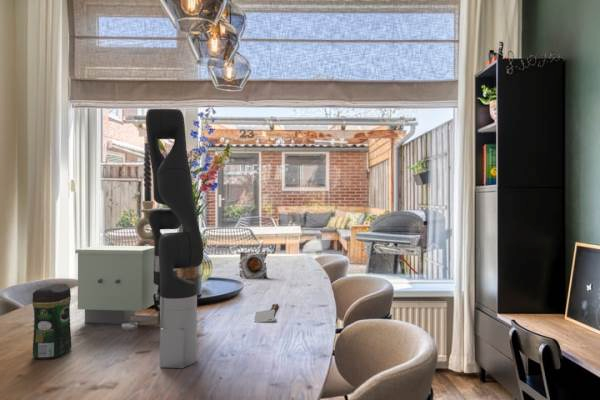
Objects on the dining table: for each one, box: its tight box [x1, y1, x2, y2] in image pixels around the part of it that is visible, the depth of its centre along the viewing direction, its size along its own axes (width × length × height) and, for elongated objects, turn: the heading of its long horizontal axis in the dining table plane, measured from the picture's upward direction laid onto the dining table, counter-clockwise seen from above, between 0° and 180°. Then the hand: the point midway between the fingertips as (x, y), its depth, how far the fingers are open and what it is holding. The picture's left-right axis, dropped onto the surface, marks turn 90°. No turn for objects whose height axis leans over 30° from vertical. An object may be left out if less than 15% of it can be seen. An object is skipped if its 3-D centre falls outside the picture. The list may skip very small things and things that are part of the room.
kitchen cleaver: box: [253, 303, 279, 324], centre depth 164 cm, size 24×1×10 cm
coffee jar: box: [31, 283, 72, 360], centre depth 121 cm, size 10×8×19 cm
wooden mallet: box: [130, 311, 160, 328], centre depth 147 cm, size 4×14×8 cm, turn 84°
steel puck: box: [120, 320, 139, 332], centre depth 145 cm, size 5×5×2 cm
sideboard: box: [75, 245, 158, 325], centre depth 152 cm, size 14×23×25 cm, turn 84°
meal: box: [238, 252, 268, 279], centre depth 239 cm, size 15×4×13 cm, turn 82°
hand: (165, 321), depth 146 cm, fingers closed on wooden mallet, 4 cm apart
